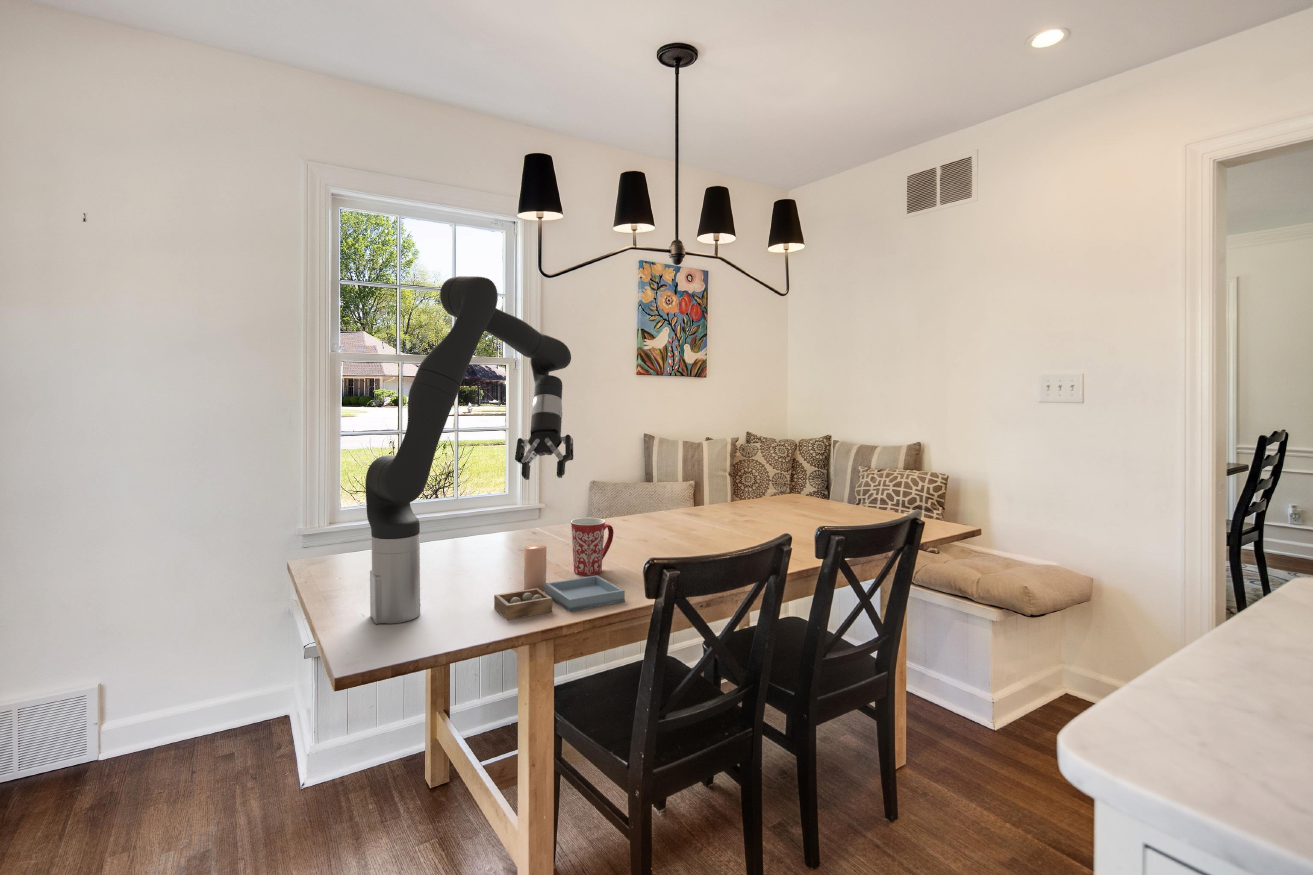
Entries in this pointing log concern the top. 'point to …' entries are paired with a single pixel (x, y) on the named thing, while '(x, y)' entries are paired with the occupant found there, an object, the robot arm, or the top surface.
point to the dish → (584, 593)
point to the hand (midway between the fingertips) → (542, 478)
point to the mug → (589, 544)
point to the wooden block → (535, 567)
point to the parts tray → (522, 603)
